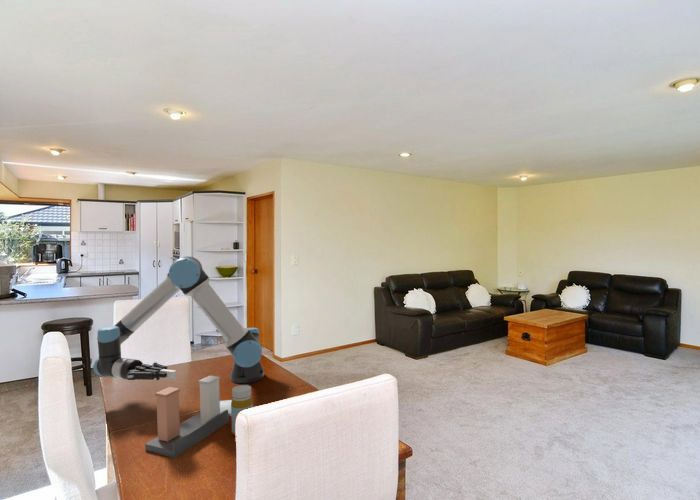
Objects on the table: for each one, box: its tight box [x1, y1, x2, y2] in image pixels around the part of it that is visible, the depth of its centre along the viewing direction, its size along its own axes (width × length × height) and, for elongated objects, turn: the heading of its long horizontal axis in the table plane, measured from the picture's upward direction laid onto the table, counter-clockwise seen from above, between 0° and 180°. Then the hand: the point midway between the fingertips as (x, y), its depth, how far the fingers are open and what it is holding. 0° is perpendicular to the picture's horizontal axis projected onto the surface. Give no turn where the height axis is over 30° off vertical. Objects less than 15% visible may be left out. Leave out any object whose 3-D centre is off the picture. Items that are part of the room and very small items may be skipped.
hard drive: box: [220, 399, 232, 417], centre depth 149 cm, size 2×8×12 cm
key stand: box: [144, 410, 229, 459], centre depth 130 cm, size 24×12×4 cm, turn 158°
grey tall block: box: [198, 375, 221, 424], centre depth 135 cm, size 5×4×15 cm
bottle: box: [230, 384, 254, 437], centre depth 131 cm, size 7×7×15 cm
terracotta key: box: [155, 386, 181, 442], centre depth 124 cm, size 5×4×15 cm
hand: (175, 374), depth 142 cm, fingers closed
